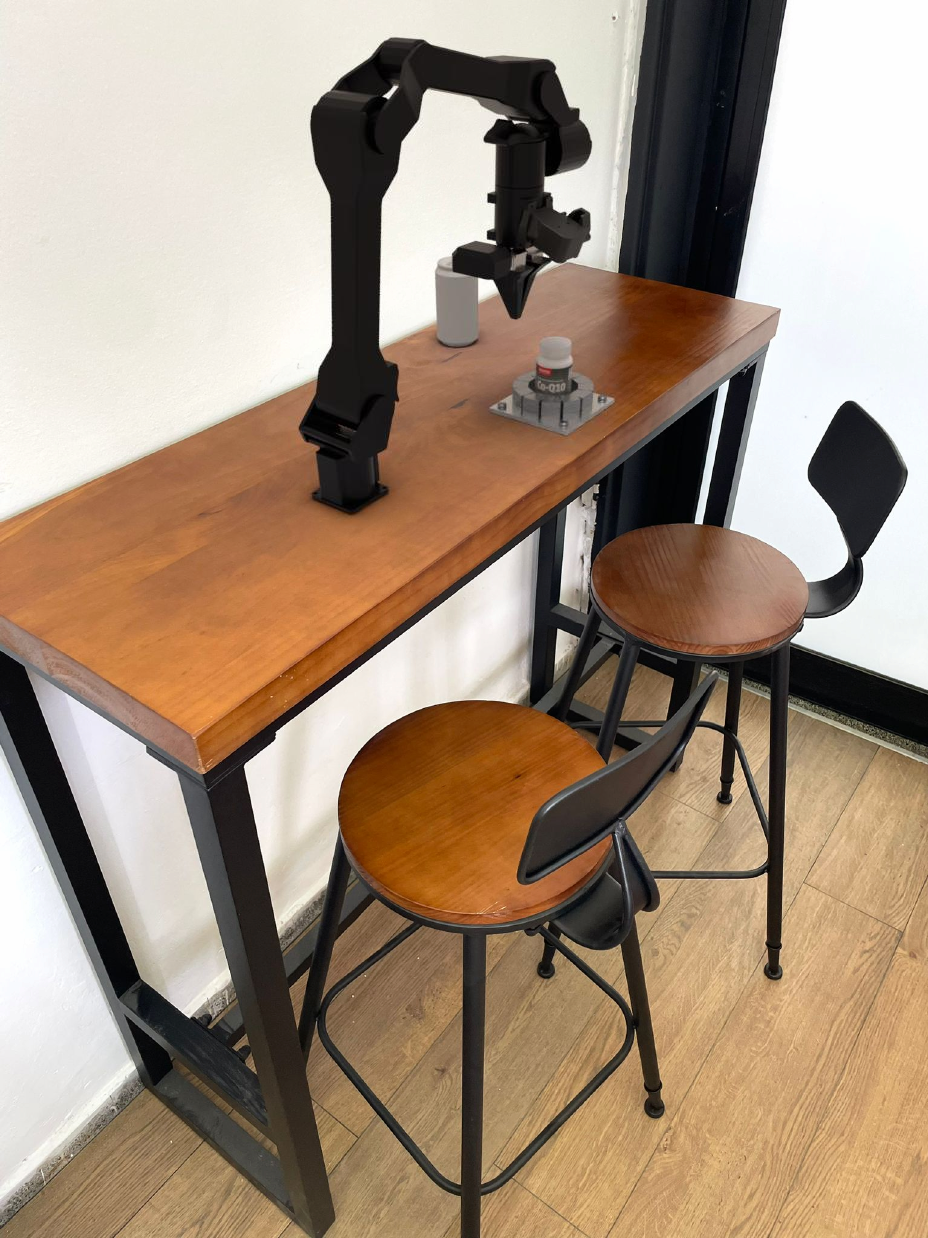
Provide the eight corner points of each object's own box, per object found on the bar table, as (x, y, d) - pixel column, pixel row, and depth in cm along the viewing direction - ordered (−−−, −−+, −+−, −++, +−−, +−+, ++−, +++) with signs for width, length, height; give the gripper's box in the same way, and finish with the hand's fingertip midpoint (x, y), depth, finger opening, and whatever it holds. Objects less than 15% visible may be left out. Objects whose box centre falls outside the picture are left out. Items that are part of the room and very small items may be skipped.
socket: (566, 435, 116) (567, 412, 114) (489, 411, 122) (489, 389, 120) (614, 402, 124) (616, 380, 122) (539, 381, 130) (540, 360, 128)
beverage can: (486, 337, 143) (486, 258, 136) (464, 351, 139) (462, 269, 132) (451, 330, 146) (450, 251, 139) (429, 343, 142) (426, 263, 135)
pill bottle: (532, 409, 121) (534, 347, 116) (536, 394, 125) (539, 334, 120) (568, 412, 120) (571, 349, 115) (572, 397, 124) (575, 336, 119)
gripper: (530, 209, 97) (525, 354, 106) (621, 178, 108) (609, 311, 118) (448, 194, 102) (449, 333, 111) (543, 167, 114) (537, 295, 123)
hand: (515, 318), depth 116 cm, fingers closed
